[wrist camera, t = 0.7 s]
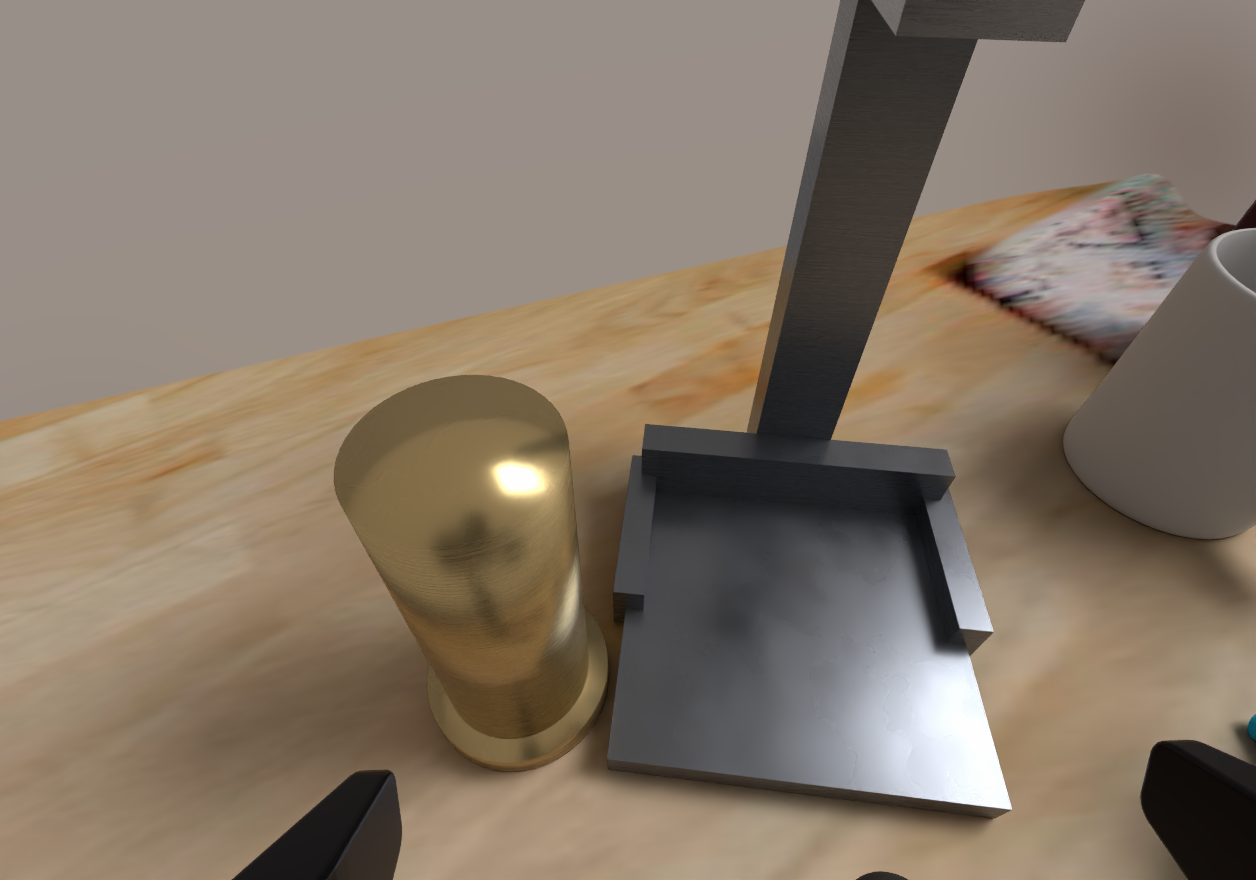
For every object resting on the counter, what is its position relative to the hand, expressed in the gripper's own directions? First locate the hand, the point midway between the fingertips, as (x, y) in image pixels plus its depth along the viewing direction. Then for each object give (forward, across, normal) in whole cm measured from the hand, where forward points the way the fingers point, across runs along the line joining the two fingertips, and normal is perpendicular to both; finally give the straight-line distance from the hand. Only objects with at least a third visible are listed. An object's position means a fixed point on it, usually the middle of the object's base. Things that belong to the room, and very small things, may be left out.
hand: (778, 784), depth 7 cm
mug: (+21, -26, +5) cm, 34 cm away
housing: (+15, +6, +9) cm, 18 cm away
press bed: (+17, -5, +7) cm, 20 cm away
